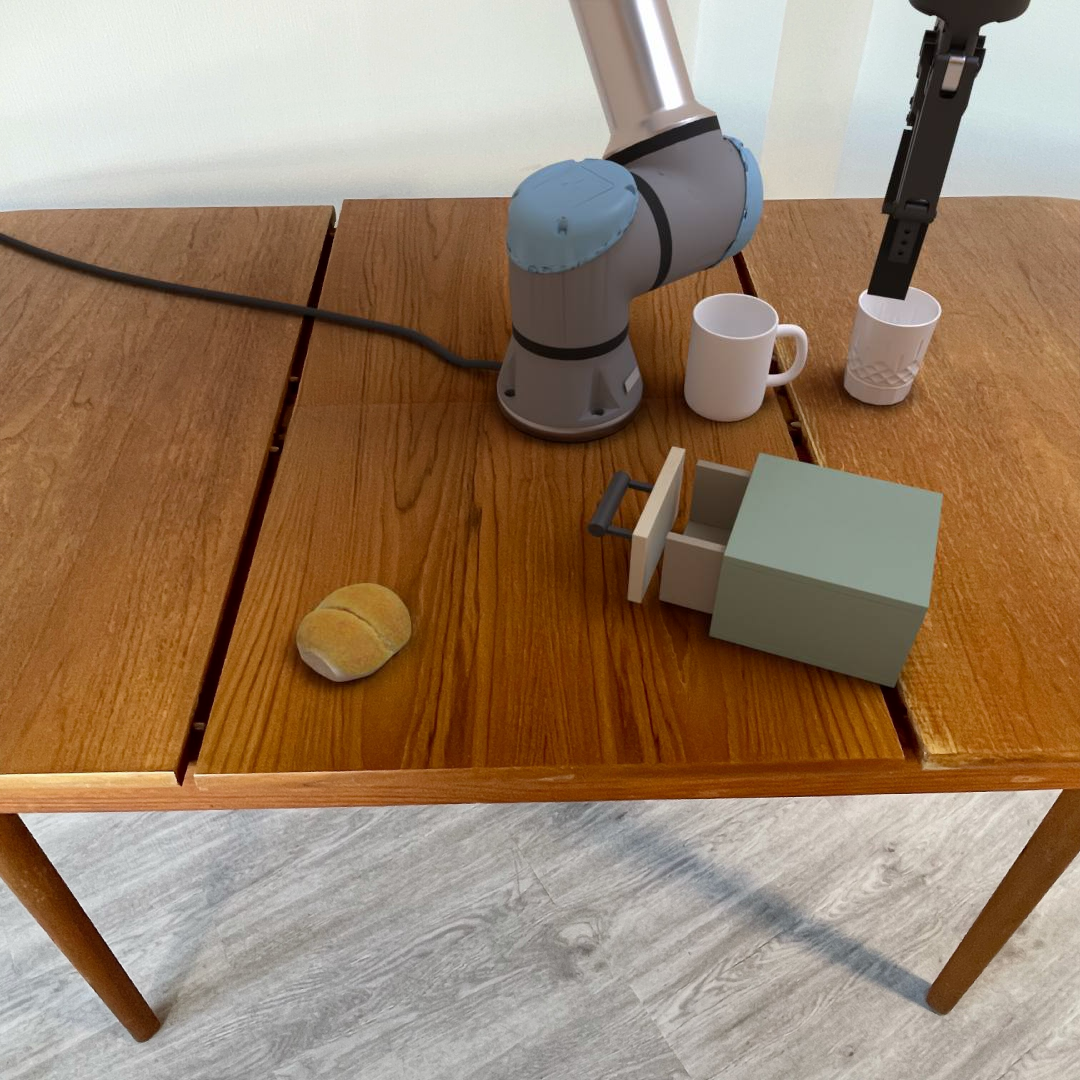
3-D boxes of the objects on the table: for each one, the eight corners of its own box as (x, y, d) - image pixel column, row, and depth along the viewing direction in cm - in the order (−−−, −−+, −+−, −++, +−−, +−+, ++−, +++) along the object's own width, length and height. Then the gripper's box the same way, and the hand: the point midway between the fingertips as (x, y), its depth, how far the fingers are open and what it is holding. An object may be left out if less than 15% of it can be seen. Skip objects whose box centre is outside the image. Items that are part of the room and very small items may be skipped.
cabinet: (708, 636, 75) (723, 554, 68) (742, 533, 83) (759, 452, 77) (893, 688, 71) (928, 607, 65) (910, 575, 80) (943, 493, 73)
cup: (678, 376, 100) (688, 293, 93) (789, 375, 100) (807, 291, 93) (688, 424, 95) (698, 339, 87) (805, 422, 95) (825, 337, 87)
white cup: (916, 413, 95) (945, 329, 88) (838, 405, 96) (860, 322, 89) (910, 369, 101) (937, 287, 94) (836, 362, 102) (857, 280, 95)
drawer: (577, 586, 78) (578, 520, 73) (619, 500, 86) (622, 434, 80) (789, 645, 73) (808, 579, 68) (814, 548, 81) (832, 482, 75)
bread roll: (430, 626, 76) (425, 594, 74) (355, 700, 71) (346, 669, 69) (358, 583, 80) (350, 551, 77) (281, 651, 75) (270, 619, 72)
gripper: (1059, 6, 48) (935, 346, 64) (1042, -105, 65) (947, 188, 80) (911, -8, 50) (825, 326, 66) (931, -112, 66) (858, 175, 82)
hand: (892, 251), depth 73 cm, fingers open, 13 cm apart
